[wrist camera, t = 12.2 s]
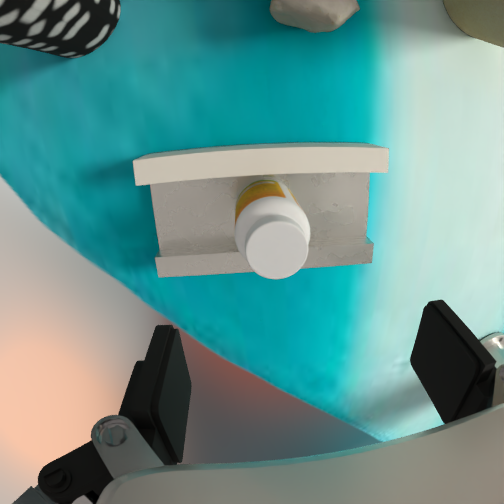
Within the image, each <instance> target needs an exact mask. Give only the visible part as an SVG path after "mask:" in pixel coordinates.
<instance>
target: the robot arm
mask: <svg viewBox="0 0 504 504" xmlns="http://www.w3.org/2000/svg"><path fill="white" fill-rule="evenodd" d="M410 362H411V366H412V367H413V369H414V371H415V372H416V374H417V376H418V378H419V379H420V381H421V383H422V385H423V386H424V388H425V390H426V392H427V393H428V395H429V397H430V399H431V401H432V402H433V404H434V406H435V408H436V410H437V411H438V413H439V415H440V417H441V419H442V421H443V422H444V423H445V424H444V425H441V426H438V427H435V428H432V429H429V430H426V431H422V432H419V433H416V434H412V435H409V436H405V437H401V438H398V439H394V440H390V441H386V442H382V443H377V444H373V445H369V446H365V447H360V448H355V449H350V450H344V451H339V452H333V453H327V454H320V455H314V456H306V457H299V458H290V459H281V460H270V461H256V462H241V463H217V464H181V465H177V463H181V462H182V459H183V450H184V442H185V433H186V425H187V418H188V410H189V402H190V395H191V380H190V376H189V372H188V368H187V364H186V360H185V356H184V351H183V347H182V343H181V338H180V334H179V330H178V329H174V328H173V326H172V325H157V326H156V327H155V330H154V333H153V336H152V339H151V342H150V345H149V348H148V352H147V354H146V357H145V360H144V361H137V362H136V364H135V366H134V369H133V372H132V375H131V378H130V381H129V384H128V387H127V389H126V392H125V396H124V399H123V401H122V405H121V408H120V411H119V414H118V415H110V416H107V417H104V418H102V419H100V420H99V421H98V422H97V423H96V424H95V425H94V427H93V429H92V431H91V438H92V440H91V441H90V442H88V443H86V444H84V445H82V446H81V447H79V448H77V449H75V450H73V451H71V452H70V453H68V454H66V455H64V456H62V457H60V458H58V459H56V460H54V461H52V462H50V463H48V464H47V465H45V466H44V467H43V468H42V470H41V471H40V473H39V476H38V485H37V486H36V487H35V488H33V487H32V486H31V487H30V488H28V489H27V490H26V491H25V492H24V493H23V494H22V495H21V496H20V497H19V498H18V499H17V500H16V501H14V502H13V503H12V504H504V333H502V332H499V333H494V334H491V335H489V336H487V337H485V338H484V339H482V340H481V341H479V340H478V339H477V337H476V336H475V335H474V334H473V333H472V332H471V330H470V329H469V328H468V327H467V326H466V325H465V324H464V323H463V321H462V320H461V319H460V318H459V317H458V316H457V315H456V314H455V313H454V311H453V310H452V309H451V308H450V307H449V306H448V305H447V304H446V303H445V302H444V301H443V300H436V301H430V302H428V304H427V306H425V307H424V310H423V314H422V318H421V322H420V325H419V329H418V333H417V337H416V340H415V344H414V347H413V351H412V354H411V358H410Z"/></svg>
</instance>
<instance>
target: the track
mask: <svg viewBox="0 0 504 504" xmlns="http://www.w3.org/2000/svg"><path fill="white" fill-rule="evenodd" d="M388 159H389V148H385V147H381V146H377V145H373V144H369V143H359V142H287V143H260V144H242V145H227V146H214V147H202V148H192V149H182V150H173V151H164V152H156V153H149V154H147V155H145V156H142V157H140V158H138V159H135V160H133V166H134V174H135V182H136V186H138V185H147V184H150V188H151V195H152V203H153V210H154V216H155V223H156V229H157V236H158V242H159V248H160V249H159V251H158V253H157V255H156V257H155V261H156V266H157V271H158V276H159V277H174V276H192V275H209V274H225V273H241V272H255V271H254V270H253V269H252V268H251V267H250V265H249V264H248V262H247V260H246V259H245V258H244V257H243V256H242V255H241V253H240V252H239V250H238V248H237V245H236V241H235V206H236V201H237V198H238V196H239V194H240V193H241V191H242V190H243V189H244V188H245V187H246V186H247V185H249V184H250V183H252V182H254V181H257V180H262V179H271V180H275V181H278V182H280V183H282V184H284V185H285V186H286V187H287V188H288V189H289V190H290V191H291V192H292V194H293V195H294V197H295V198H296V200H297V202H298V203H299V205H300V206H301V208H302V210H303V211H304V213H305V215H306V217H307V219H308V222H309V225H310V240H309V244H308V255H307V259H306V261H305V263H304V264H303V266H302V267H301V268H314V267H327V266H340V265H353V264H365V263H372V255H373V245H374V243H373V242H372V241H371V240H370V239H369V238H368V237H367V236H366V232H367V217H368V200H369V176H370V172H381V173H388Z"/></svg>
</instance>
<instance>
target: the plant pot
mask: <svg viewBox="0 0 504 504" xmlns="http://www.w3.org/2000/svg"><path fill="white" fill-rule="evenodd" d="M443 2H444V5H445V8H446V10H447V12H448V14H449V16H450V18H451V19H452V21H453V22H454V23H455V24H456V26H457V27H458V28H459V29H461V30H462V31H463V32H464V33H466V34H467V35H469V36H471V37H474V38H477V39H480V40H483V41H485V42H488V43H491V44H494V45H497V46H500V47H504V0H443Z"/></svg>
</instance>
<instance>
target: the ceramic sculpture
mask: <svg viewBox="0 0 504 504" xmlns="http://www.w3.org/2000/svg"><path fill="white" fill-rule="evenodd" d="M359 10H360V8H359V5H358V3H357V1H356V0H272V1H271V5H270V13H271V14H272V16H273V18H274V19H275V20H276V21H277V22H279V23H282V24H285V25H289V26H293V27H298V28H302V29H305V30H307V31H309V32H314V33H316V32H330V31H333V30H335V29H337V28H339V27H340V26H341V25H342V24H344V23H345V21H346V20H347V19H349V18H350V17H351V16H352V15H353V14H354V13H355V12H357V11H359Z"/></svg>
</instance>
